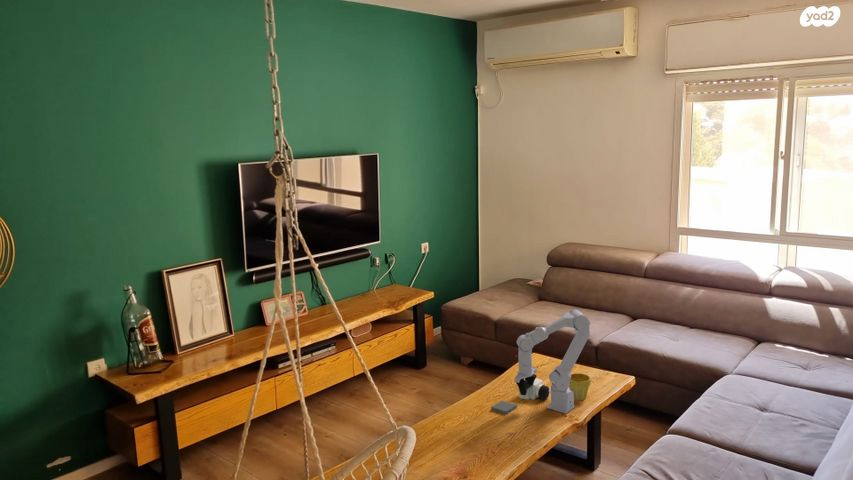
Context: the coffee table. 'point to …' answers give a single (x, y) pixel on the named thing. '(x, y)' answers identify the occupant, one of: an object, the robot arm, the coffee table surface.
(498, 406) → the block
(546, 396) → the medicine bottle
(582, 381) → the plant pot
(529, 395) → the grey green cube
